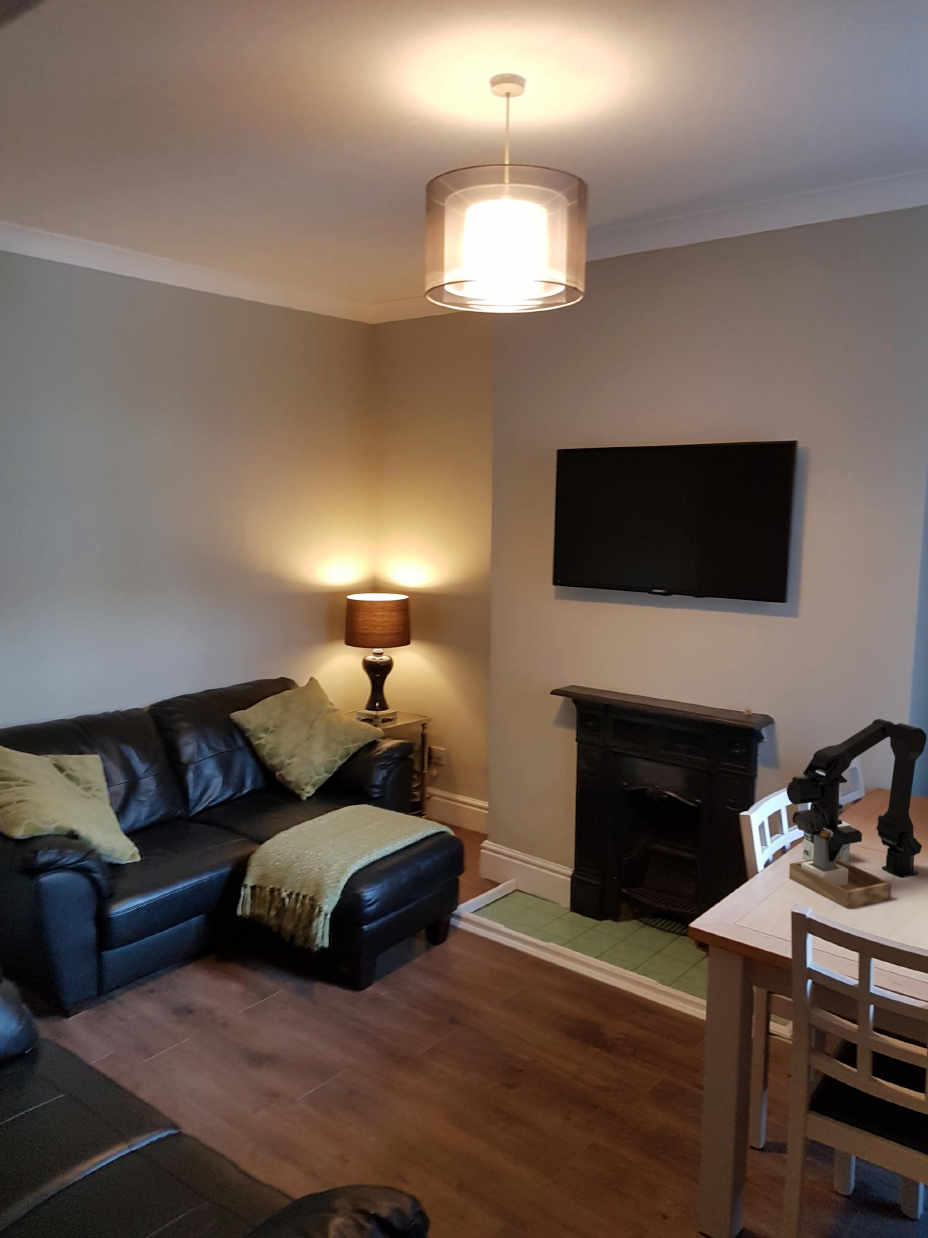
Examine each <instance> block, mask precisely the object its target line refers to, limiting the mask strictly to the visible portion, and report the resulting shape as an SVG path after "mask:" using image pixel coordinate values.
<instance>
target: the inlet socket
mask: <svg viewBox="0 0 928 1238" xmlns="http://www.w3.org/2000/svg"><path fill="white" fill-rule="evenodd" d="M801 867H802V868H804V869H806V870H808V871H810V872H812V873H814V874H816V875H818V876H820V877H822V878H824V879H826V880H828V881H830V882H832V883H834V884H836V885H838V886H841V885H846V884H848V869H847V868H845V867H843V866H840V865H838V864H837V868H832V869H827V870H823V869H821V868H819V867H817V866H815V865H813V861H809V862H804V863H801Z"/></svg>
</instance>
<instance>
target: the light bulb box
mask: <svg viewBox="0 0 928 1238" xmlns="http://www.w3.org/2000/svg"><path fill="white" fill-rule="evenodd" d="M848 826H850V827H852V826H851V824H850V823H848V822H846V821H843V820H842V824H841V825H838V827H839V828H842V827H848ZM802 840H803V842H802V843H803V844H802V845H803V846H802V848H803V849H802V858H803V859H804V860H805V861H806V860H812V859H813V850H814V845H813V842H812V839H811V836H810V834H807V833H806V832H804V831H803V839H802ZM850 847H851V844H844V845H843V846H842V848H841V849H840V851H839V853H838V854H837V859H840V860H842V861H844V862H846V863H848V864H849V863H850V852H851V851H850V849H851V848H850Z"/></svg>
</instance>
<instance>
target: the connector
mask: <svg viewBox="0 0 928 1238" xmlns="http://www.w3.org/2000/svg"><path fill="white" fill-rule="evenodd" d="M826 837H831V832H829V831H821V834H816V835H814V850H813V865H815V866H817V867H819V868H821V869H823V870H827V869H832V868H837V856H836V858H835V860H834V861H833V862H830V861H829V843H828V842H827V840H826V839H825V838H826Z"/></svg>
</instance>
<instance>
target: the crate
mask: <svg viewBox="0 0 928 1238" xmlns="http://www.w3.org/2000/svg"><path fill="white" fill-rule="evenodd" d="M809 861H813V859H812V860H806V859H805V860H803V861H797V862H791V863H789V871H788V872H789V873H788V874H789V875H788V876H789V880H791V881H793V882H796V883H797V884H799V885H801V886H803V887H805V888H807V889H809V890H811V891H813V892H815V893H817V894H818V895H821V896H822V897H824V898H826V899H828V900H830V901H831V902H833V903H836V904H838V905H840V906H842V907H843V908H845V909H851V908H855V907H860V906H866V905H870V904H873V903H878V902H882V901H887V900H891V899H892V882H890V881H887V880H886V879H883V878H881V877H878V876H876V875H874V874H871V873H870V872H867V871H865V870H864V869H862V868H860V867H859V868H858V867H856V866H854V865H852V864H850V863H849V862H848V863H846V862H844V861H842V860H840V859H837V864H838V865H840V866H843V867H845V868H847V869H848V884H846V885H841V886H838V885H836V884H834V883H832V882H830V881H828V880H826V879H824V878H822V877H820V876H818V875H816V874H814V873H812V872H810V871H808V870H806V869H804V868H802V867H801V863H804V862H809Z"/></svg>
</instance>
